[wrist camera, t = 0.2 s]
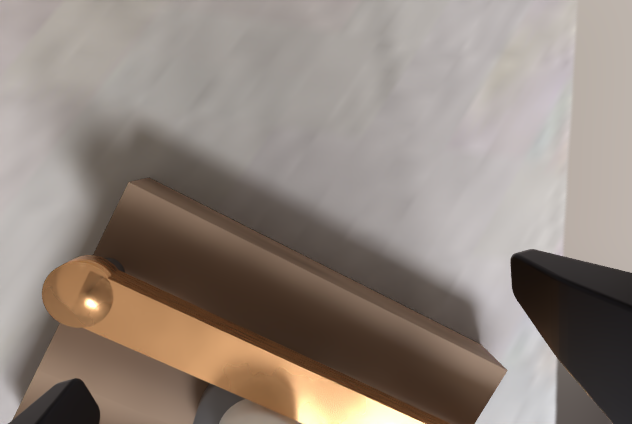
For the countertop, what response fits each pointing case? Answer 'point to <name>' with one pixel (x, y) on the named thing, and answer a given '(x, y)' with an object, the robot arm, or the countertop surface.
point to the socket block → (257, 319)
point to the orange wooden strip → (214, 348)
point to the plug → (234, 410)
